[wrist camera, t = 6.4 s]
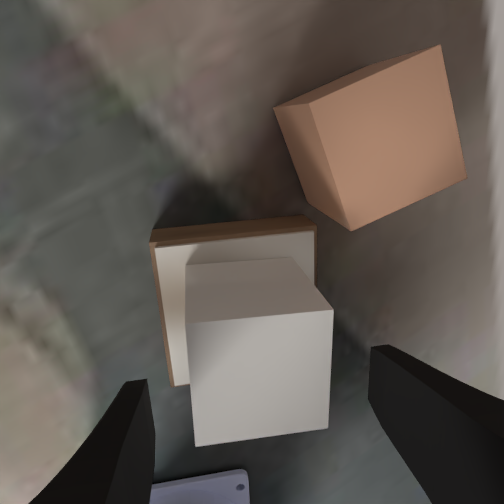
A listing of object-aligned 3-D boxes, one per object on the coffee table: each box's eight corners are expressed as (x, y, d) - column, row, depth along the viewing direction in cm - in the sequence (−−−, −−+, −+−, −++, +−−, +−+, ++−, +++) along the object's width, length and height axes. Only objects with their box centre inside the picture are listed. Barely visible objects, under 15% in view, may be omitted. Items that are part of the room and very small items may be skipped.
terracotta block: (394, 163, 18) (467, 178, 14) (307, 202, 18) (351, 231, 14) (368, 65, 17) (440, 44, 12) (273, 107, 17) (308, 103, 12)
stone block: (291, 349, 18) (327, 428, 13) (192, 360, 17) (195, 446, 13) (292, 256, 17) (333, 309, 12) (185, 265, 16) (185, 323, 11)
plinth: (303, 339, 21) (318, 366, 19) (171, 358, 20) (170, 390, 18) (301, 213, 19) (318, 226, 17) (152, 228, 18) (148, 244, 16)
